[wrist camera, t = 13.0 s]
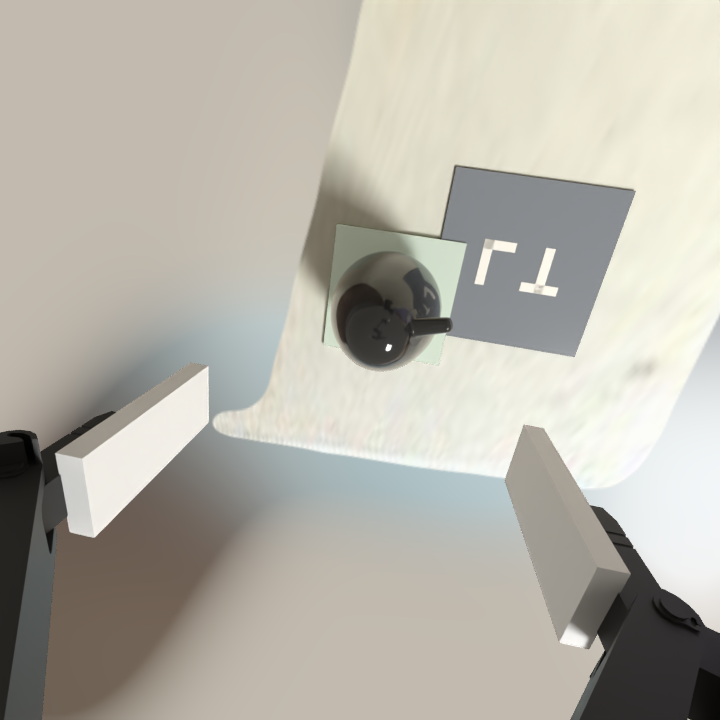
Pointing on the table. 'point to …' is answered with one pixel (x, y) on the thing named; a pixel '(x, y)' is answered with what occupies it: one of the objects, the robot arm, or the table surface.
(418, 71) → the table surface
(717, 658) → the robot arm
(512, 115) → the table surface
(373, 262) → the pump dispenser
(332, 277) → the mat
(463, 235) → the tile
